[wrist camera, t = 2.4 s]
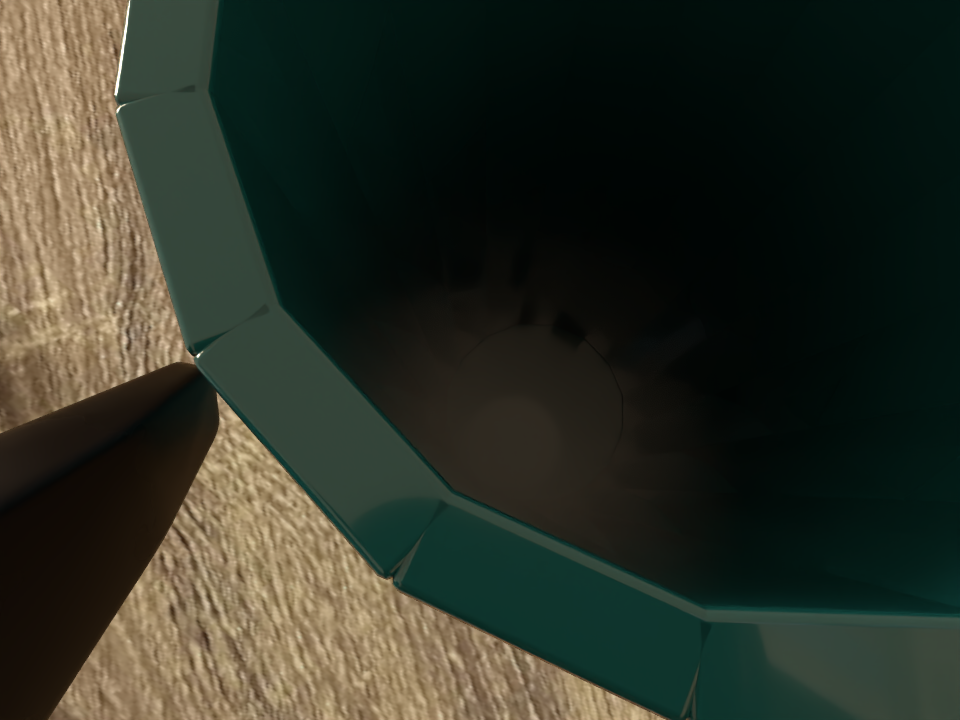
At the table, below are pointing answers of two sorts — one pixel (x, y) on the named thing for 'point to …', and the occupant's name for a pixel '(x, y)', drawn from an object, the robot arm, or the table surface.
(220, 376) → the tumbler
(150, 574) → the table surface
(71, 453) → the robot arm
